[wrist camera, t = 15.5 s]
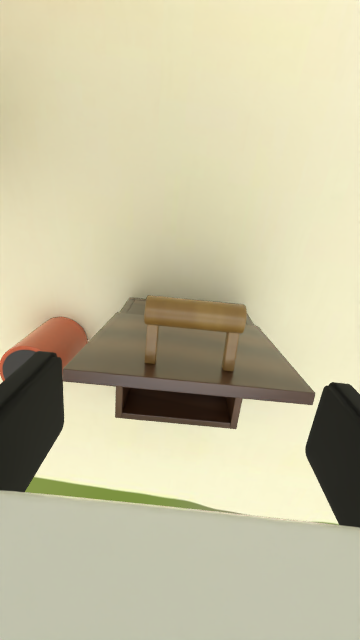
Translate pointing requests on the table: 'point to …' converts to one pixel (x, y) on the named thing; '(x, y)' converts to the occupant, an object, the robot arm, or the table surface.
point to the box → (175, 398)
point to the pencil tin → (46, 344)
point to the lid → (189, 354)
